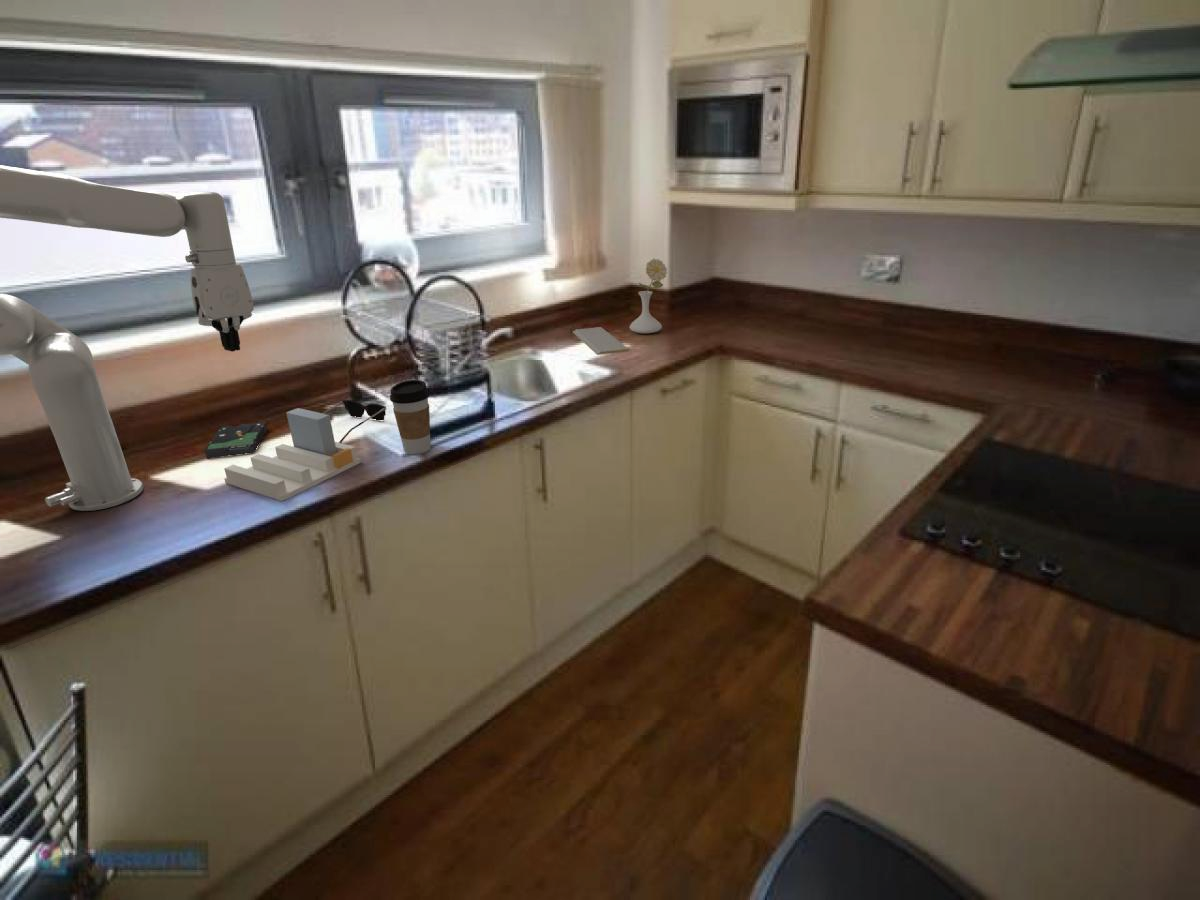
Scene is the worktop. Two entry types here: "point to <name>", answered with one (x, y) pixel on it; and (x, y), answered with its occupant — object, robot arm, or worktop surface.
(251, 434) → the disk drive
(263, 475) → the rack
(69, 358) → the robot arm
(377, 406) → the sunglasses
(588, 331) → the baseboard
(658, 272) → the flower in vase
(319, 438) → the panel
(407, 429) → the coffee cup
